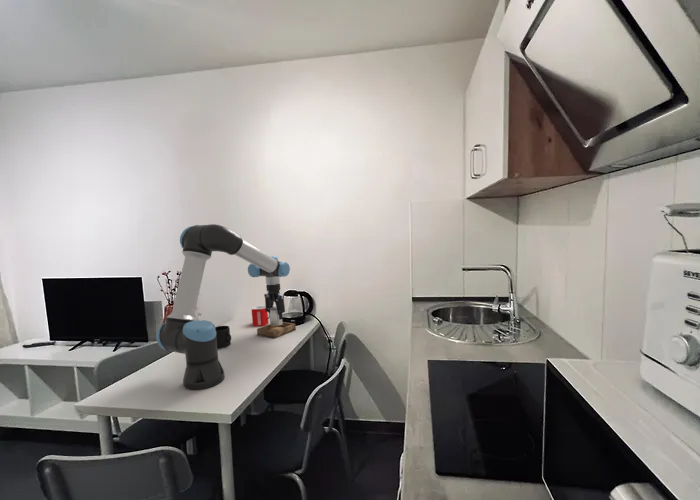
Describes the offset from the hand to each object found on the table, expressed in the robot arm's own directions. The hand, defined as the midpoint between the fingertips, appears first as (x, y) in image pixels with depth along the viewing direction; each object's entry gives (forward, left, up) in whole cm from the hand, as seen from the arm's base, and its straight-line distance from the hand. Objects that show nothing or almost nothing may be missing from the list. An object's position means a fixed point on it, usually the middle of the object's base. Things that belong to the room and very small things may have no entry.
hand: (276, 324), depth 197 cm
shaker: (0, 0, 0) cm, 0 cm away
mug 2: (+8, +20, -5) cm, 22 cm away
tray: (0, 0, -5) cm, 5 cm away
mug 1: (-28, +10, -5) cm, 30 cm away
